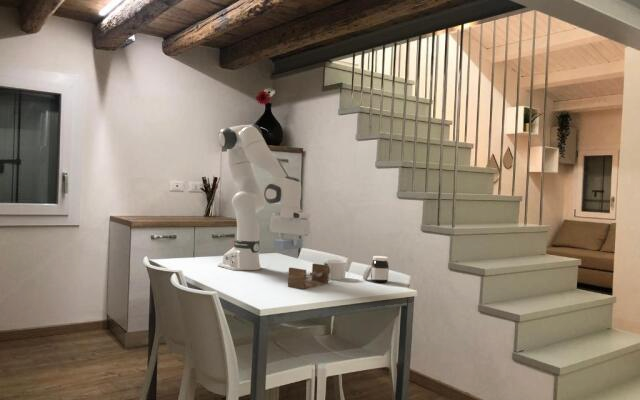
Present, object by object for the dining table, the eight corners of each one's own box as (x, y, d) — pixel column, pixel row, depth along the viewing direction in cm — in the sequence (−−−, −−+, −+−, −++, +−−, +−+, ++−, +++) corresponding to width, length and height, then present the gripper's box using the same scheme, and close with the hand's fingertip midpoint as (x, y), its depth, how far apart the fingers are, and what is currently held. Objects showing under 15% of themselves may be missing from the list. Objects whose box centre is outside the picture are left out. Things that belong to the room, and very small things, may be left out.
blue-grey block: (282, 250, 228) (283, 241, 227) (273, 249, 230) (274, 239, 230) (301, 247, 239) (302, 239, 239) (293, 246, 242) (293, 238, 242)
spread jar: (389, 284, 239) (390, 258, 239) (365, 283, 239) (366, 257, 238) (384, 279, 251) (385, 255, 251) (361, 278, 251) (362, 254, 250)
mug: (350, 279, 247) (350, 262, 247) (331, 280, 241) (332, 263, 241) (333, 274, 258) (334, 258, 258) (315, 275, 252) (316, 259, 252)
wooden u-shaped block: (303, 289, 218) (304, 270, 218) (288, 286, 223) (288, 267, 222) (328, 283, 234) (329, 265, 234) (313, 280, 238) (314, 263, 238)
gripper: (267, 211, 237) (265, 241, 238) (304, 215, 226) (302, 247, 226) (276, 211, 243) (274, 241, 243) (312, 214, 231) (310, 246, 232)
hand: (288, 244), depth 235 cm, fingers closed on blue-grey block, 5 cm apart
